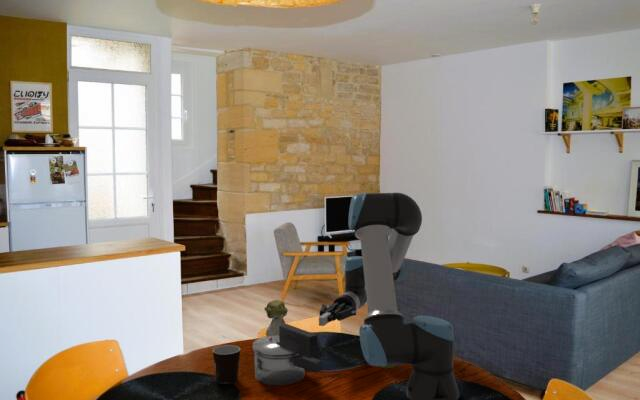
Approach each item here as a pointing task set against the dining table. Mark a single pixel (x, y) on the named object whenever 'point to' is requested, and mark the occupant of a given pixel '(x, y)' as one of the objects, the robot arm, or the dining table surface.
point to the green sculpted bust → (275, 316)
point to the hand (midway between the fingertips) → (321, 321)
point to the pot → (284, 368)
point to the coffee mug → (226, 363)
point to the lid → (288, 343)
